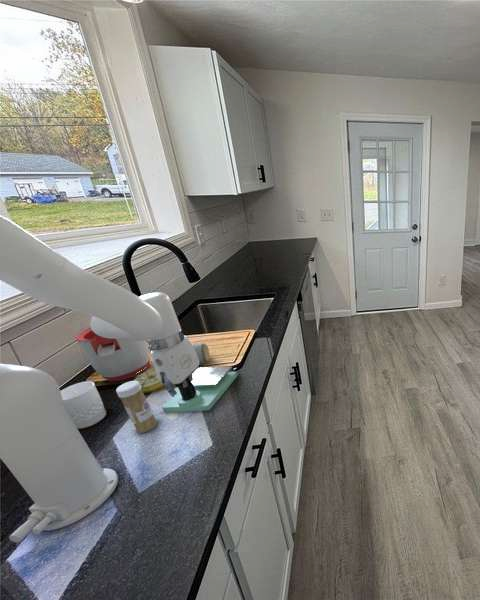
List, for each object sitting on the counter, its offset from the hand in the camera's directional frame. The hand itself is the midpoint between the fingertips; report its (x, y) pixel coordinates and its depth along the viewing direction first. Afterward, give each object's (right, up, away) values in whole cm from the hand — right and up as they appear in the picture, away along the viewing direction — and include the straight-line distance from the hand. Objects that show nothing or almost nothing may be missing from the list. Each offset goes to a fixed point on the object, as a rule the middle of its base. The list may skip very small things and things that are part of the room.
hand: (189, 395), depth 89 cm
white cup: (-26, -6, -2) cm, 27 cm away
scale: (0, -1, +6) cm, 6 cm away
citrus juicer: (-33, +2, +19) cm, 38 cm away
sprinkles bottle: (-7, -7, -6) cm, 11 cm away
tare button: (0, -1, 0) cm, 1 cm away
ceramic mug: (-12, +5, +22) cm, 26 cm away
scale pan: (0, +3, +8) cm, 9 cm away
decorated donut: (-19, 0, +11) cm, 22 cm away
